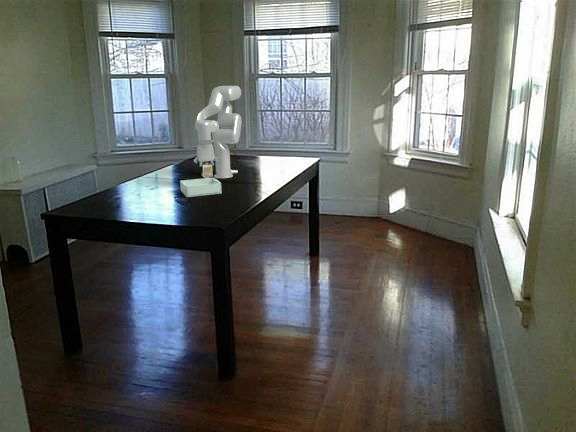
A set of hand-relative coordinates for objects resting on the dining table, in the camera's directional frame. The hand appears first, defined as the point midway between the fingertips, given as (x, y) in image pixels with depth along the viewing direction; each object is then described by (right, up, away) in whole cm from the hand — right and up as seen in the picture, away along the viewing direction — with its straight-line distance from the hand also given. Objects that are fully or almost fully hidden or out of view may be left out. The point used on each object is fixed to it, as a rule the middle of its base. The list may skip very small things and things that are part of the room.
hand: (206, 171), depth 317 cm
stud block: (0, -8, +2) cm, 8 cm away
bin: (-1, -13, -17) cm, 22 cm away
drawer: (0, -2, +1) cm, 3 cm away
